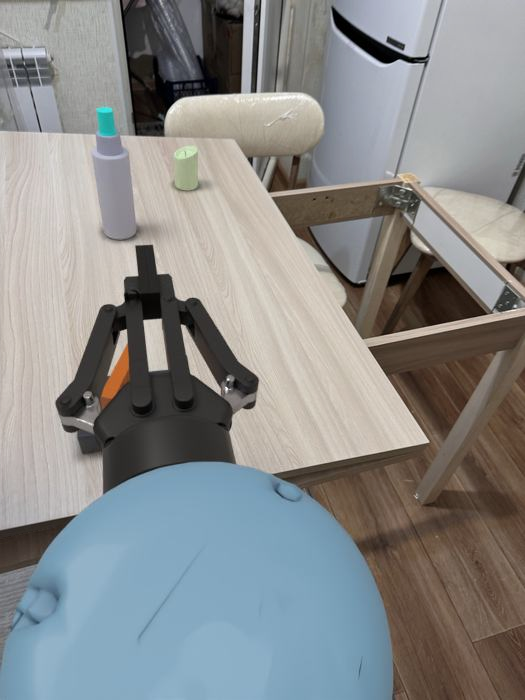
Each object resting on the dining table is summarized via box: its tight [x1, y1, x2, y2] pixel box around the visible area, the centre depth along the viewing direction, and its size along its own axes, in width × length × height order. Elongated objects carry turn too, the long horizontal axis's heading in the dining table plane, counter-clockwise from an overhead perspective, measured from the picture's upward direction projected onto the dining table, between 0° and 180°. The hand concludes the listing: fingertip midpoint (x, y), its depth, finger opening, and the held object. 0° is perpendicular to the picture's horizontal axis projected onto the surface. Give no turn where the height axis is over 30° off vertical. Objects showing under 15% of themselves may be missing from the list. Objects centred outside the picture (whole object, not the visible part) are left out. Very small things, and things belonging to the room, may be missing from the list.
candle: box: [173, 145, 199, 192], centre depth 104 cm, size 5×5×8 cm
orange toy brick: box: [100, 342, 130, 410], centre depth 57 cm, size 10×2×7 cm, turn 171°
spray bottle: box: [91, 106, 138, 240], centre depth 84 cm, size 6×6×22 cm
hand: (145, 258), depth 42 cm, fingers closed
